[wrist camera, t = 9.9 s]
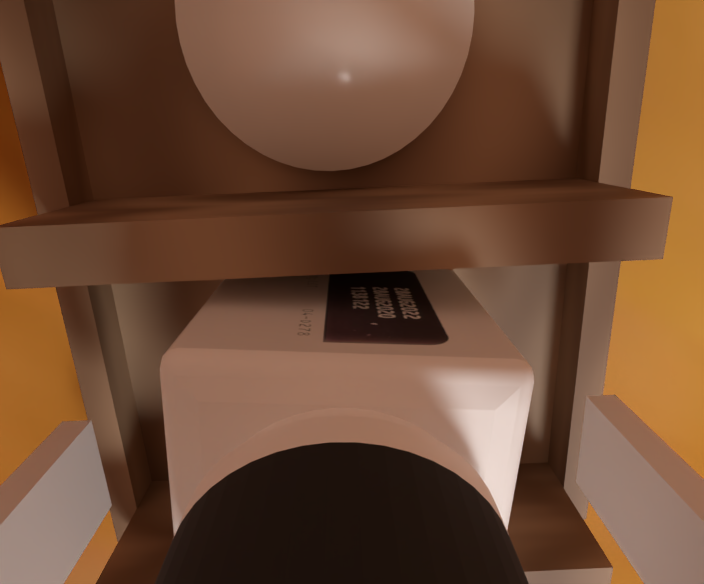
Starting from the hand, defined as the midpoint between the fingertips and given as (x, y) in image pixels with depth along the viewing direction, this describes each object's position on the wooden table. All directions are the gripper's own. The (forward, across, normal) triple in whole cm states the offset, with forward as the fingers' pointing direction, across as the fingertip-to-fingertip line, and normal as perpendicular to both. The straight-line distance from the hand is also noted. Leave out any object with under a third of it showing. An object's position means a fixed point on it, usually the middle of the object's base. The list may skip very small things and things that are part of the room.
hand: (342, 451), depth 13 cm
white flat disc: (+5, 0, +11) cm, 12 cm away
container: (+6, 0, 0) cm, 6 cm away
